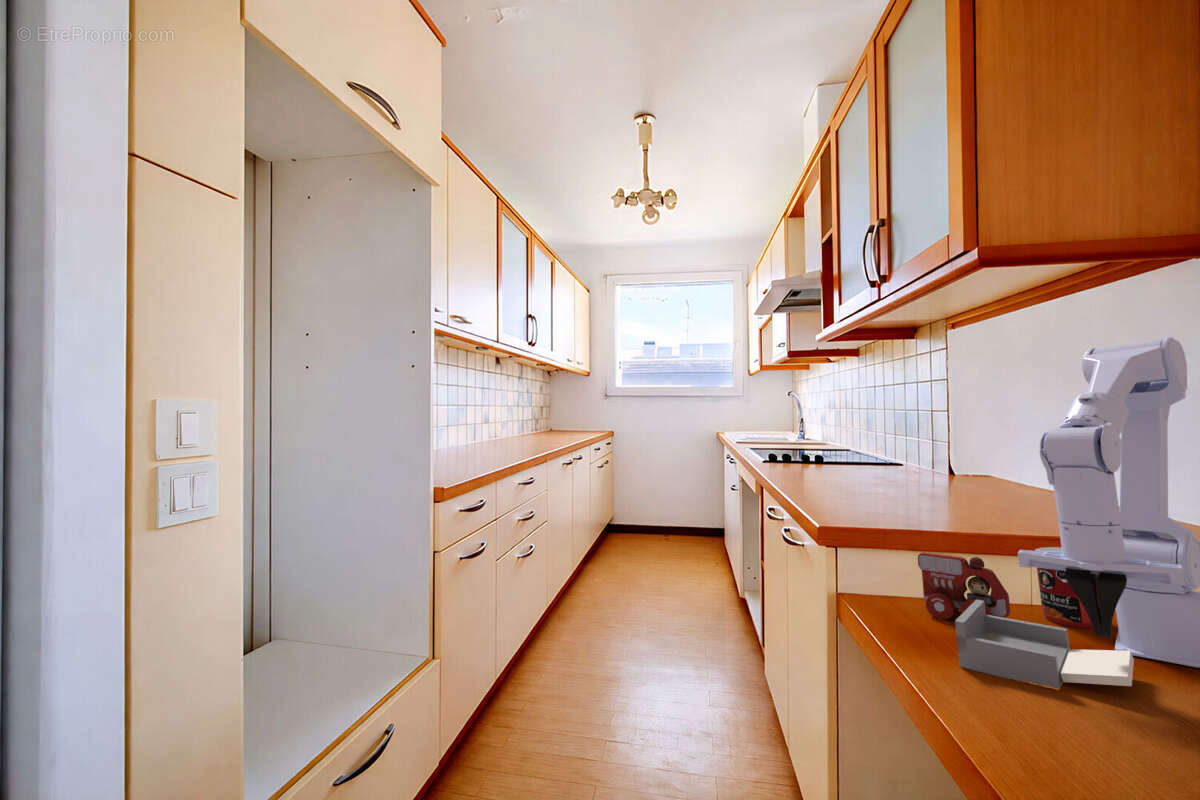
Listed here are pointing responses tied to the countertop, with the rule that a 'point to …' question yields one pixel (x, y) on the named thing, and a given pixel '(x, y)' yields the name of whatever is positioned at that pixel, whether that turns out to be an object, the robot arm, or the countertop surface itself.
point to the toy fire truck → (960, 585)
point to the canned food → (1061, 597)
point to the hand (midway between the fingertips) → (1103, 634)
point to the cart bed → (1011, 647)
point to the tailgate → (1098, 667)
